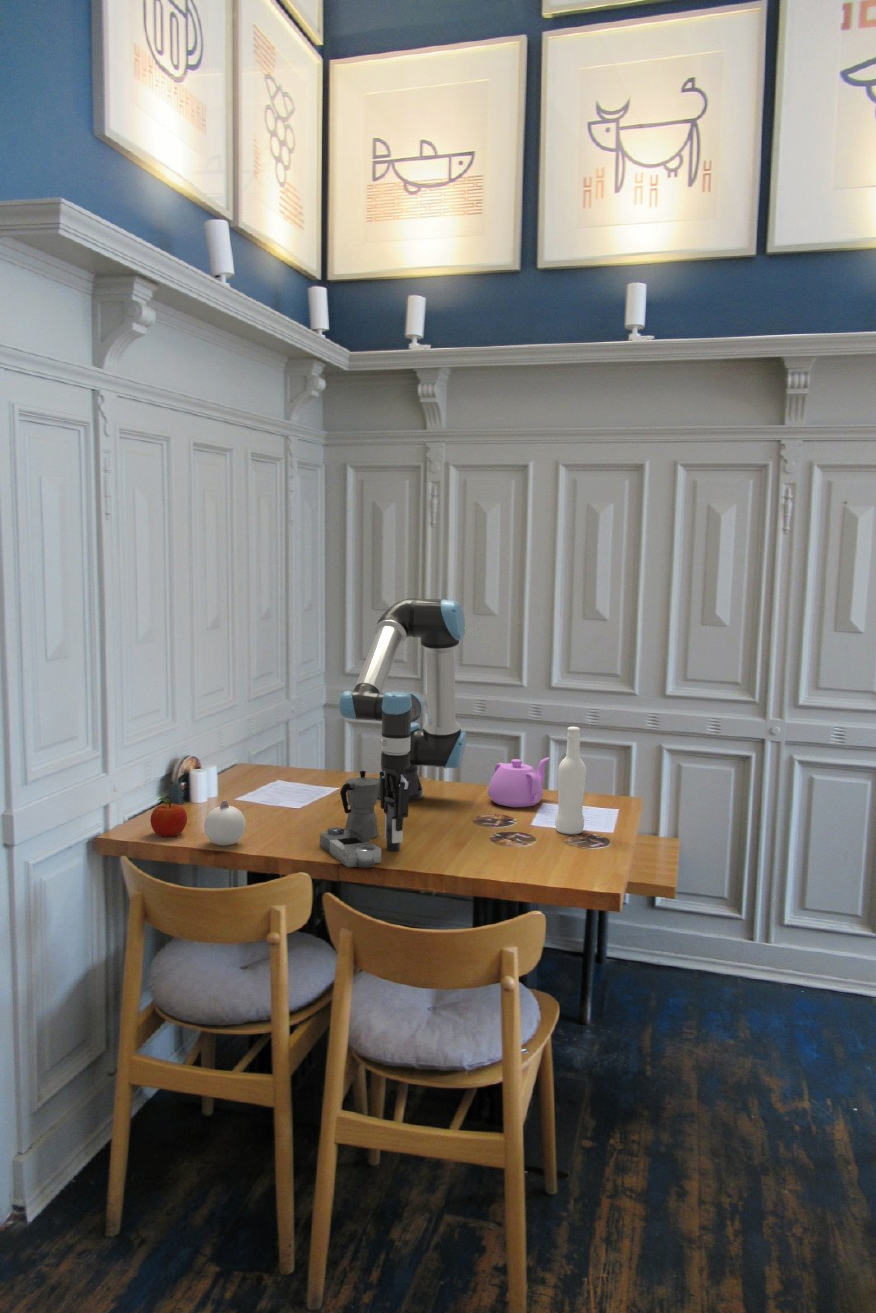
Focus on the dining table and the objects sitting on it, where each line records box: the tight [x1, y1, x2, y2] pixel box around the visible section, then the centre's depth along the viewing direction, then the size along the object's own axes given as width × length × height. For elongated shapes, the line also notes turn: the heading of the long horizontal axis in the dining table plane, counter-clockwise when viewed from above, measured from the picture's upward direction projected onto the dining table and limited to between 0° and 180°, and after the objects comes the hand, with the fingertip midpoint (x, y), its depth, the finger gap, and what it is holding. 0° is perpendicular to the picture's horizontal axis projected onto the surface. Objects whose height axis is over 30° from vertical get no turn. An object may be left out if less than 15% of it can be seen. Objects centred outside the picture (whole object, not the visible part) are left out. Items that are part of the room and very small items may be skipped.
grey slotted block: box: [319, 826, 382, 869], centre depth 244 cm, size 9×22×4 cm, turn 30°
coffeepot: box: [339, 770, 380, 840], centre depth 259 cm, size 15×9×18 cm, turn 145°
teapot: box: [487, 756, 551, 809], centre depth 299 cm, size 22×22×14 cm
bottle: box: [554, 726, 587, 835], centre depth 269 cm, size 8×8×30 cm
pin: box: [384, 796, 401, 853], centre depth 249 cm, size 5×5×14 cm
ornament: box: [203, 799, 246, 846], centre depth 249 cm, size 10×10×12 cm
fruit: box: [149, 797, 188, 838], centre depth 255 cm, size 10×10×10 cm
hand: (393, 839), depth 249 cm, fingers closed on pin, 4 cm apart
